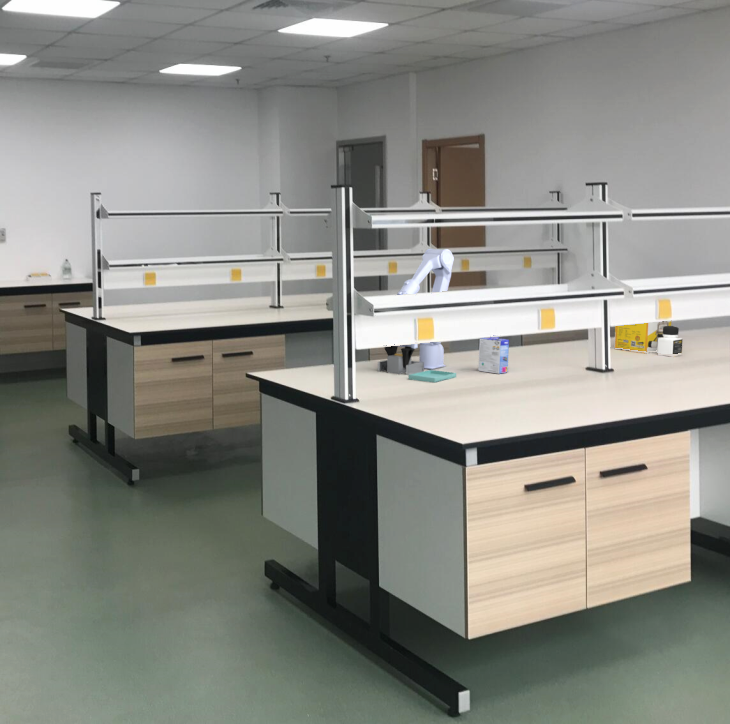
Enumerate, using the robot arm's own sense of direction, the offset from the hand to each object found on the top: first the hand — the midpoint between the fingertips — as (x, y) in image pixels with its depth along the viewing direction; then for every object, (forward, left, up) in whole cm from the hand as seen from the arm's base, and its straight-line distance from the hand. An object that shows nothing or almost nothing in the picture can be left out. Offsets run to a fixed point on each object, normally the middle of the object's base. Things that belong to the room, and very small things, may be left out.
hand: (399, 366), depth 351 cm
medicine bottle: (-101, +63, -2) cm, 119 cm away
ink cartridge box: (-21, +27, -2) cm, 34 cm away
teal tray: (+4, +17, -2) cm, 18 cm away
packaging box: (-110, +48, -2) cm, 120 cm away
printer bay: (0, 0, -2) cm, 2 cm away
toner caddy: (0, 0, -2) cm, 2 cm away
